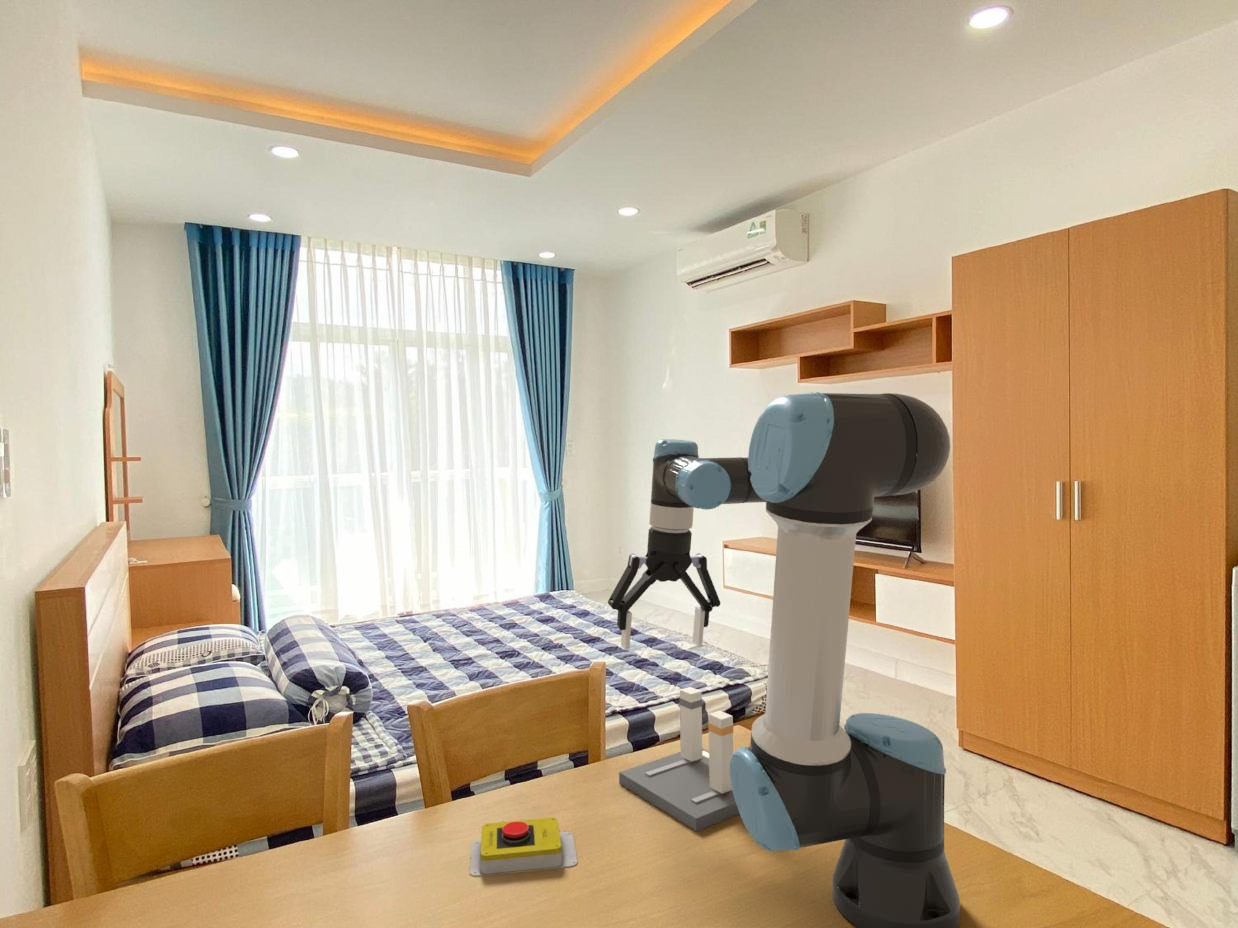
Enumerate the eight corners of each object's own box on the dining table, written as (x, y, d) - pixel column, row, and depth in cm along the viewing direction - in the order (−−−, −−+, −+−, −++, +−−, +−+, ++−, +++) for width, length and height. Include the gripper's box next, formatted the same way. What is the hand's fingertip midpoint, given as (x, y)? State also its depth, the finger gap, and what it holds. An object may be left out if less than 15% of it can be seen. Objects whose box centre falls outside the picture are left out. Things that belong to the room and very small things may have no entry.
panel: (697, 756, 141) (697, 744, 141) (778, 796, 125) (778, 783, 125) (619, 783, 130) (619, 770, 130) (696, 831, 114) (696, 816, 114)
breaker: (691, 752, 137) (690, 686, 136) (702, 757, 134) (701, 691, 134) (680, 755, 135) (679, 689, 135) (691, 761, 133) (690, 694, 132)
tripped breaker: (720, 782, 125) (719, 710, 124) (734, 789, 122) (733, 715, 122) (709, 786, 123) (708, 713, 123) (722, 793, 121) (721, 719, 120)
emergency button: (471, 815, 112) (571, 806, 115) (472, 844, 112) (572, 834, 115) (468, 849, 103) (577, 838, 105) (469, 880, 103) (578, 869, 106)
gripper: (727, 524, 139) (717, 635, 141) (595, 523, 132) (588, 640, 134) (744, 533, 132) (734, 650, 134) (607, 532, 124) (599, 656, 127)
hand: (661, 645), depth 134 cm, fingers open, 13 cm apart
